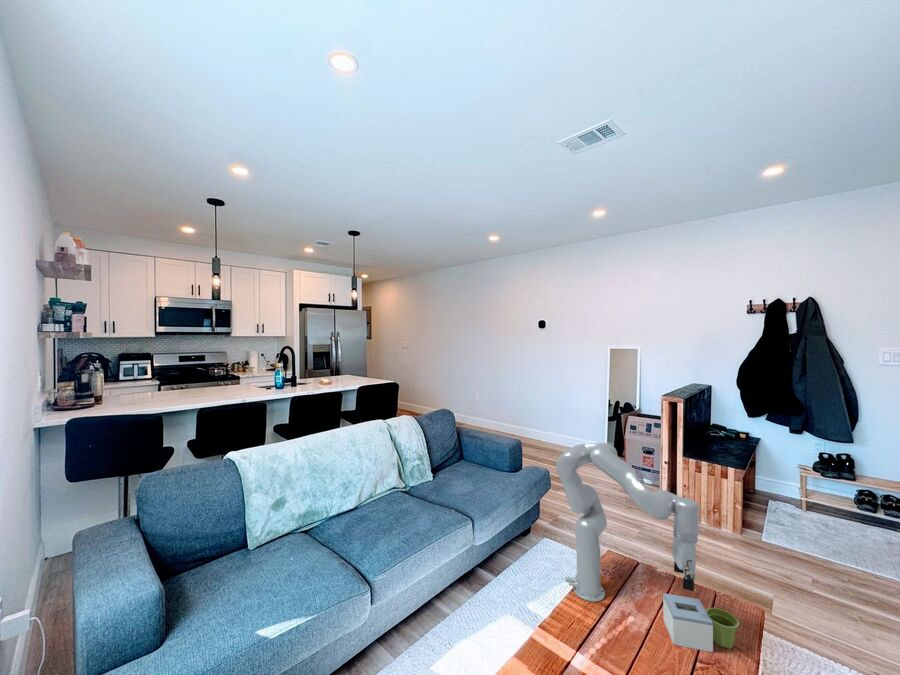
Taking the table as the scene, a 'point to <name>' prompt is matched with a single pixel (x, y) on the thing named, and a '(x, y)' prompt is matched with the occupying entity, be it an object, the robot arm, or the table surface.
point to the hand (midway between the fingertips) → (683, 580)
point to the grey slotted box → (687, 622)
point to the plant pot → (723, 627)
